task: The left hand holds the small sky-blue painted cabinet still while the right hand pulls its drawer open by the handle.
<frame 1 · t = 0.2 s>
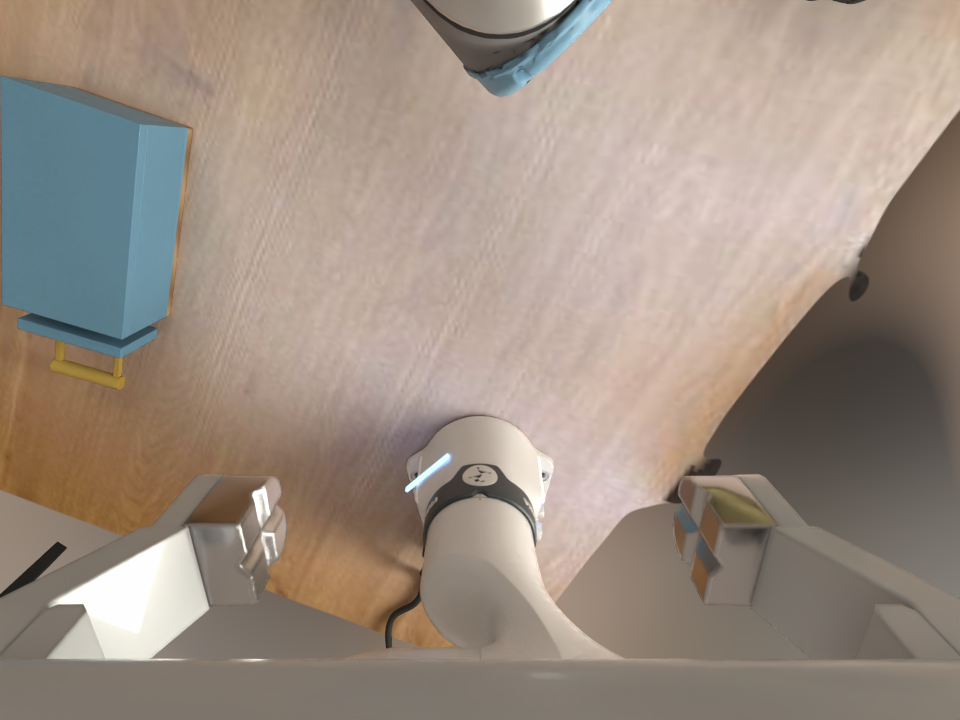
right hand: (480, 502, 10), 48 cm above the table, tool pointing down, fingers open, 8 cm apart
drawer: (95, 274, 53), point 4 cm above the table, slide at 1.6 cm
cabinet: (126, 210, 55), on the table
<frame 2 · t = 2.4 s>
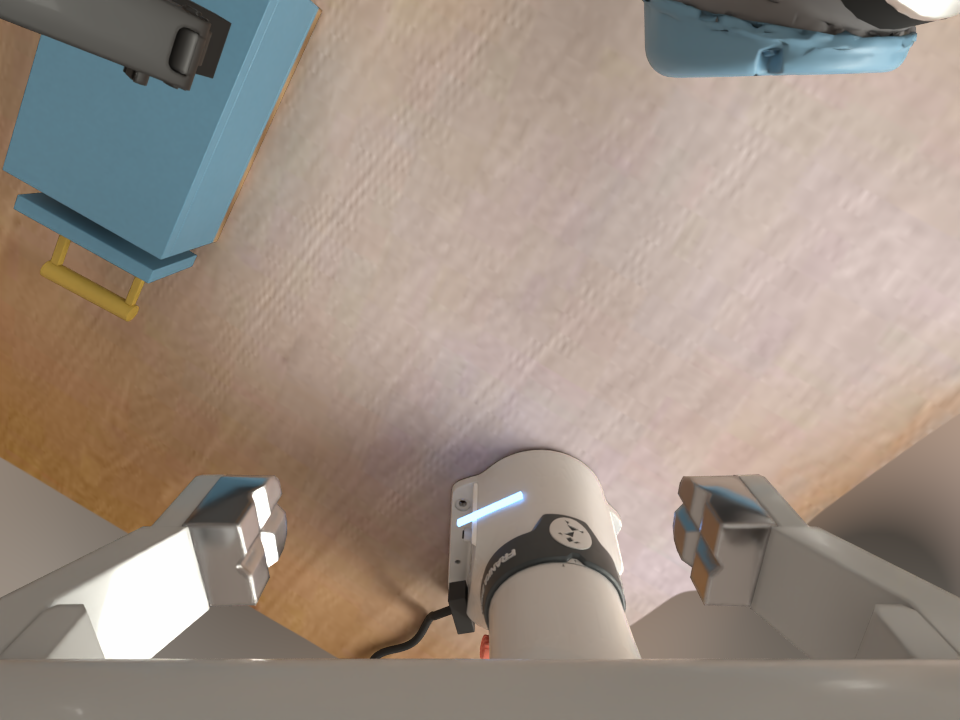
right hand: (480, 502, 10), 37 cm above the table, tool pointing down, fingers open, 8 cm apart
drawer: (140, 164, 39), point 4 cm above the table, slide at 1.6 cm
cabinet: (200, 92, 41), on the table
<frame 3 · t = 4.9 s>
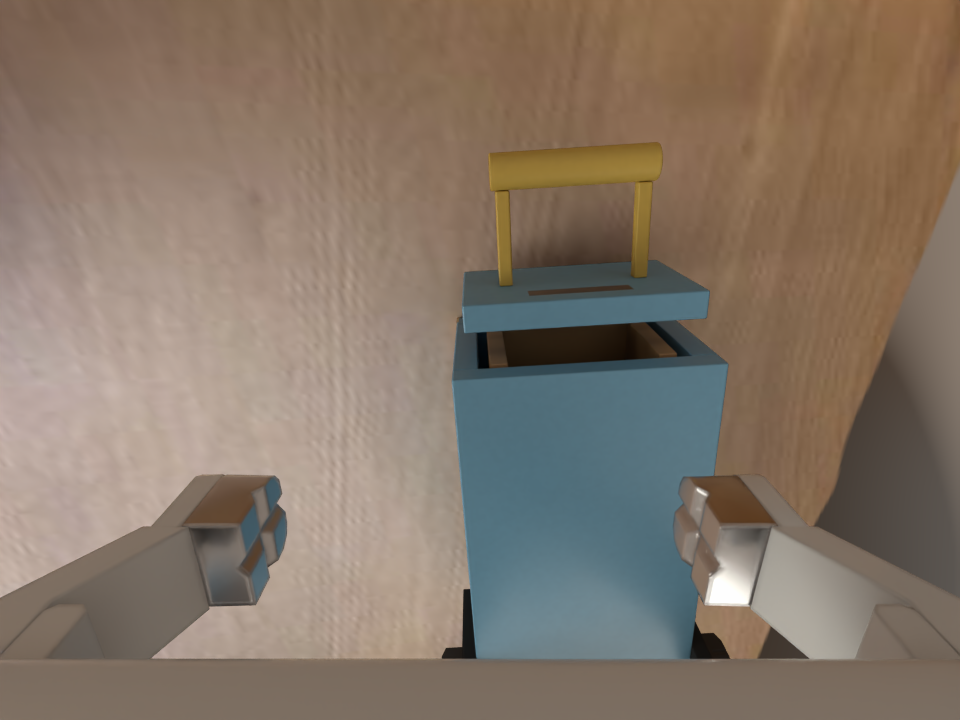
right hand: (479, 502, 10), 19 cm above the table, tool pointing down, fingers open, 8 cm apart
drawer: (570, 409, 26), point 4 cm above the table, slide at 1.6 cm
cabinet: (558, 467, 33), on the table, touching left hand
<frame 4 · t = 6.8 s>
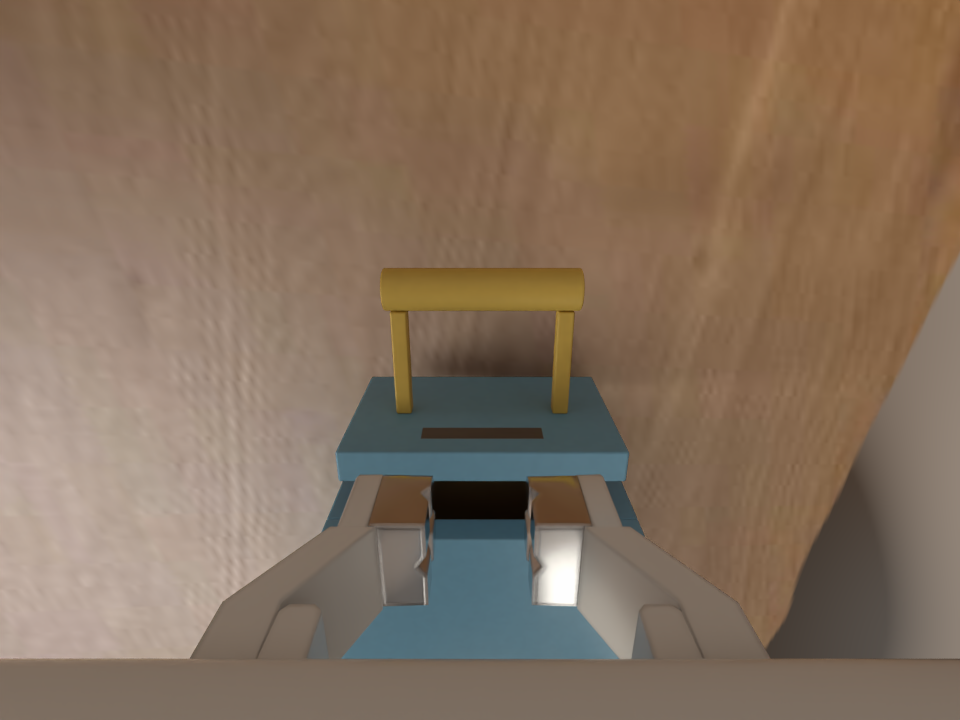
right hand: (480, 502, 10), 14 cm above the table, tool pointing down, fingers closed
drawer: (481, 543, 23), point 4 cm above the table, slide at 1.6 cm
cabinet: (481, 579, 29), on the table, touching left hand
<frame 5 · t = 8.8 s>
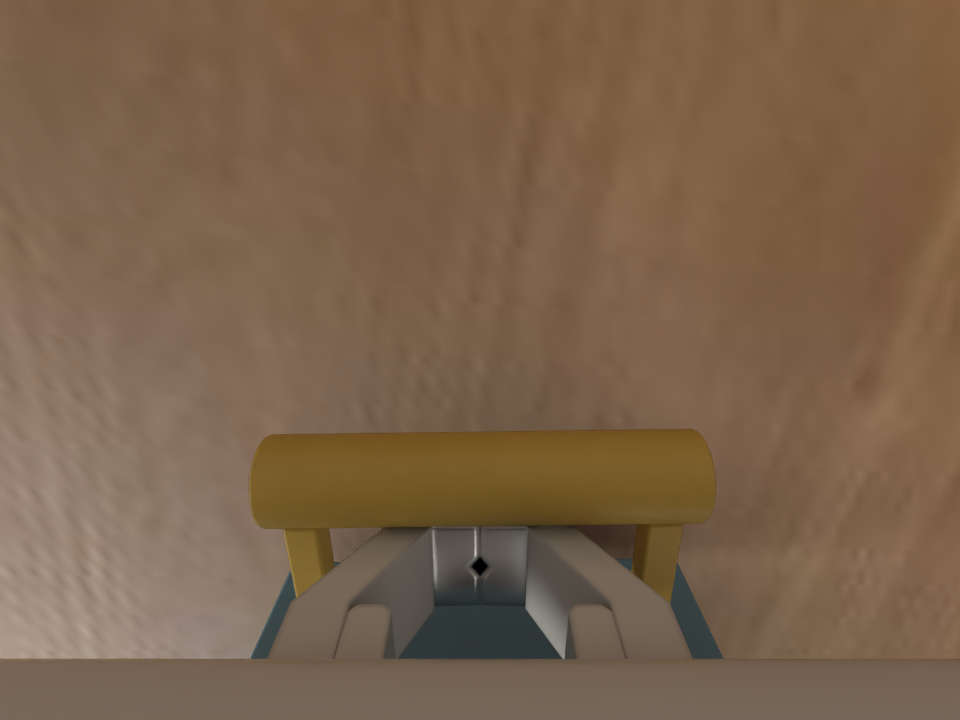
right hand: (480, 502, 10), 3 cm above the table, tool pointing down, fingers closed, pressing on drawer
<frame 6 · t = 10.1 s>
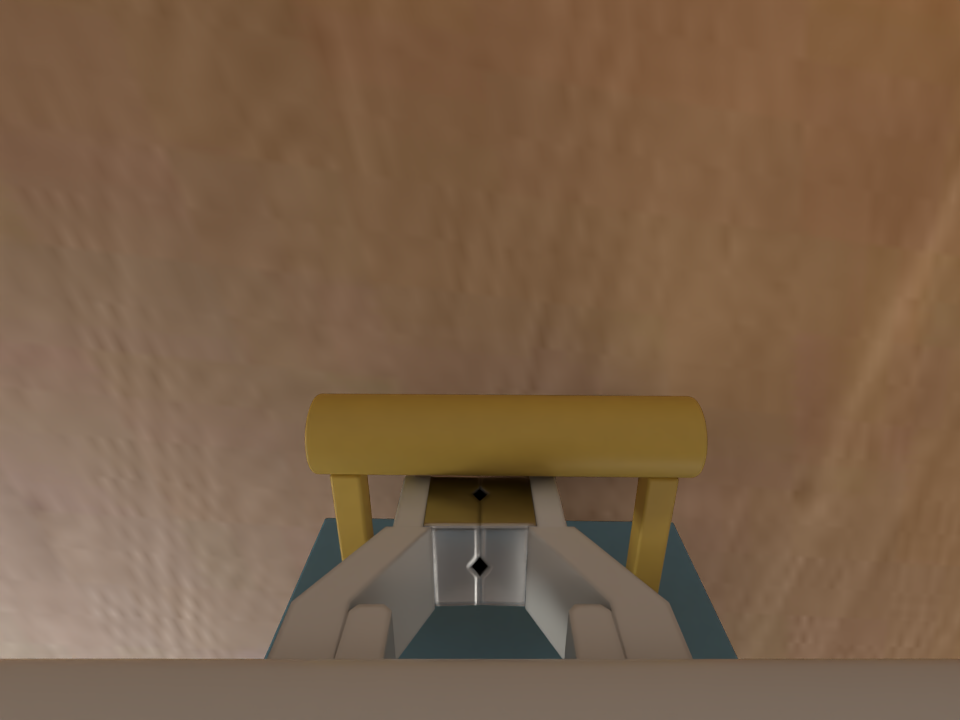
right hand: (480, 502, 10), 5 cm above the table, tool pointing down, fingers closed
when the left hand's fingers open (4 cm above the table, at t = 11.7 s): cabinet stays where it is, on the table.
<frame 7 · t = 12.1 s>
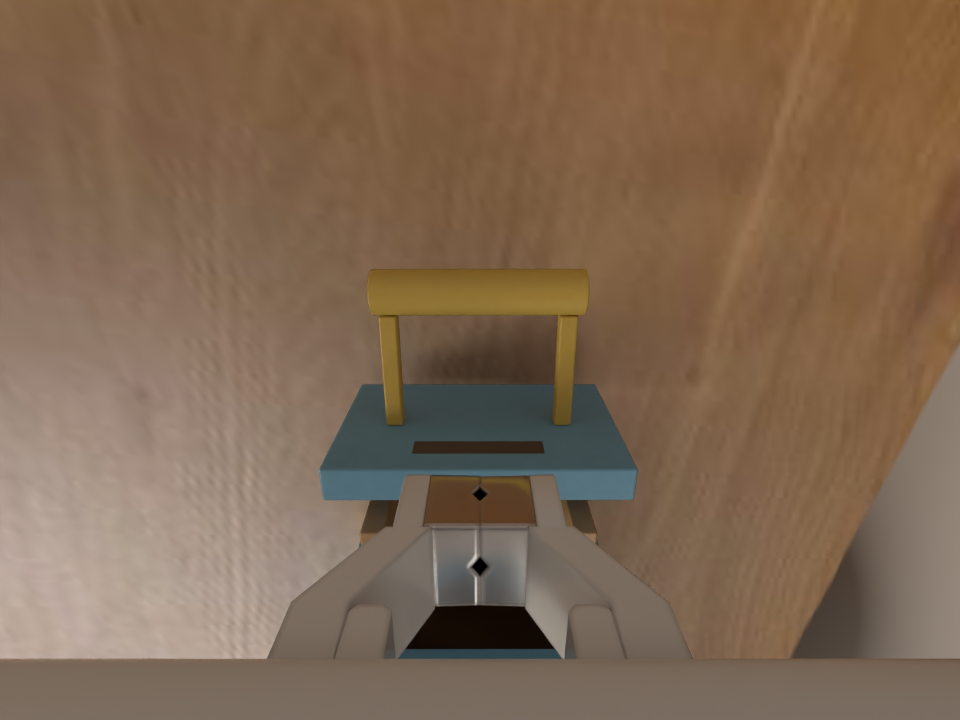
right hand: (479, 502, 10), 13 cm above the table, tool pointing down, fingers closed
drawer: (478, 561, 22), point 4 cm above the table, slide at 6.6 cm
cabinet: (479, 660, 30), on the table
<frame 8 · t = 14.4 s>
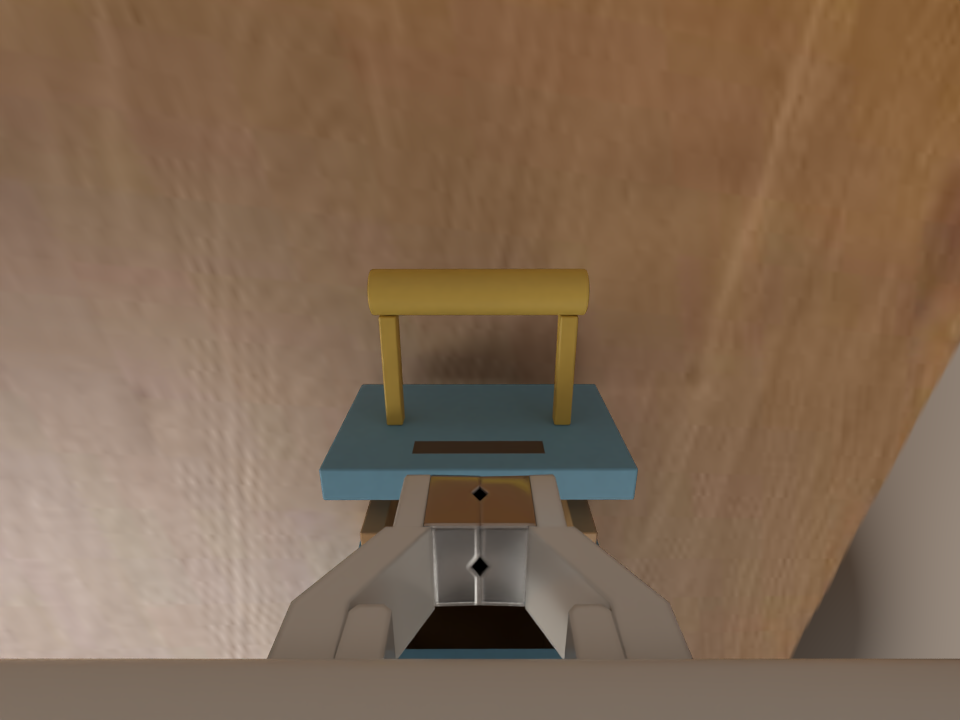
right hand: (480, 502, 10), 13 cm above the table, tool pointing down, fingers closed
drawer: (478, 561, 22), point 4 cm above the table, slide at 6.6 cm
cabinet: (479, 660, 30), on the table
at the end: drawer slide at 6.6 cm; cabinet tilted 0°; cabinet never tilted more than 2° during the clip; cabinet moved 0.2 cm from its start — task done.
